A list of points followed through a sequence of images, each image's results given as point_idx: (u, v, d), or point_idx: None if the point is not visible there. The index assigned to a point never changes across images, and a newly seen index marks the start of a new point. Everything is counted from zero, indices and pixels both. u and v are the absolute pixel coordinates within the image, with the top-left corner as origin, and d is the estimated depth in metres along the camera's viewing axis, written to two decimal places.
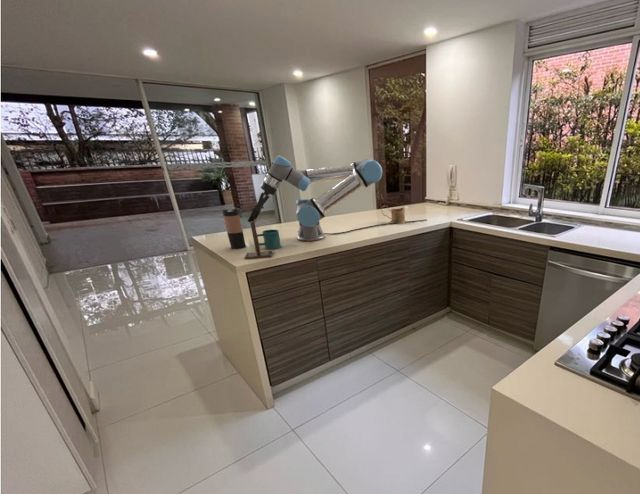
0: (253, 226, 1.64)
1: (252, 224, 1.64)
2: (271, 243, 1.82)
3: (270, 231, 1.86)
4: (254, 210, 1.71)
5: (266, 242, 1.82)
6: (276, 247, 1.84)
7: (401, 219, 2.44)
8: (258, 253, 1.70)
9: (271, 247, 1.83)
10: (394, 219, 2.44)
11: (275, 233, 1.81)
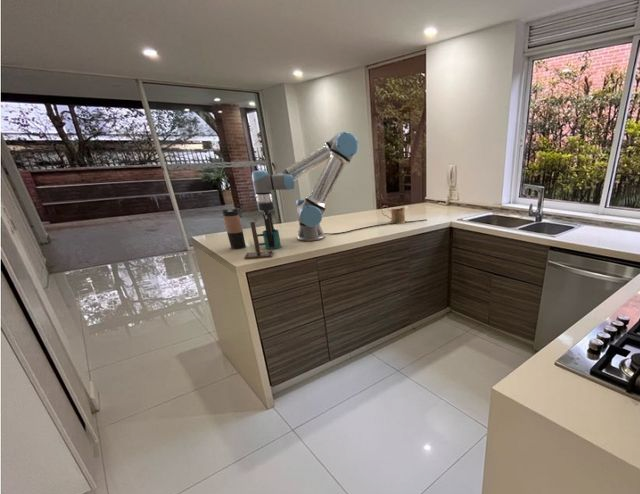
0: (253, 226, 1.64)
1: (252, 224, 1.64)
2: None
3: None
4: (268, 235, 1.78)
5: (266, 242, 1.82)
6: (276, 247, 1.84)
7: (401, 219, 2.44)
8: (258, 253, 1.70)
9: (271, 247, 1.83)
10: (394, 219, 2.44)
11: (275, 233, 1.81)
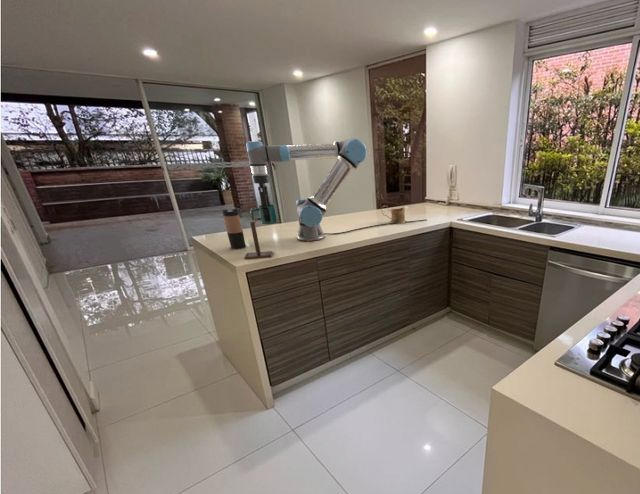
0: (253, 226, 1.64)
1: (252, 224, 1.64)
2: None
3: None
4: (263, 208, 1.72)
5: (262, 217, 1.76)
6: (272, 222, 1.78)
7: (401, 219, 2.44)
8: (258, 253, 1.70)
9: (267, 222, 1.77)
10: (394, 219, 2.44)
11: (271, 207, 1.76)
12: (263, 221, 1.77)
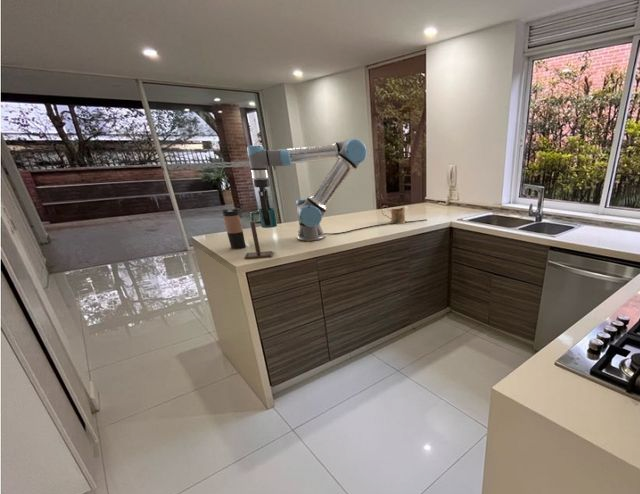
0: (253, 226, 1.64)
1: (252, 224, 1.64)
2: None
3: (265, 209, 1.81)
4: (263, 212, 1.73)
5: (261, 220, 1.77)
6: (272, 226, 1.79)
7: (401, 219, 2.44)
8: (258, 253, 1.70)
9: (267, 225, 1.78)
10: (394, 219, 2.44)
11: (271, 211, 1.77)
12: (263, 224, 1.78)
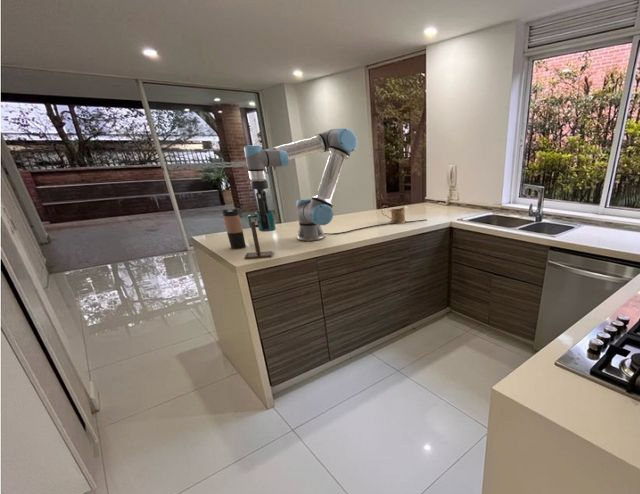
0: (253, 226, 1.64)
1: (252, 224, 1.64)
2: None
3: None
4: (261, 215, 1.65)
5: (259, 224, 1.69)
6: (270, 229, 1.71)
7: (401, 219, 2.44)
8: (258, 253, 1.70)
9: (265, 229, 1.70)
10: (394, 219, 2.44)
11: (269, 214, 1.69)
12: (261, 228, 1.70)
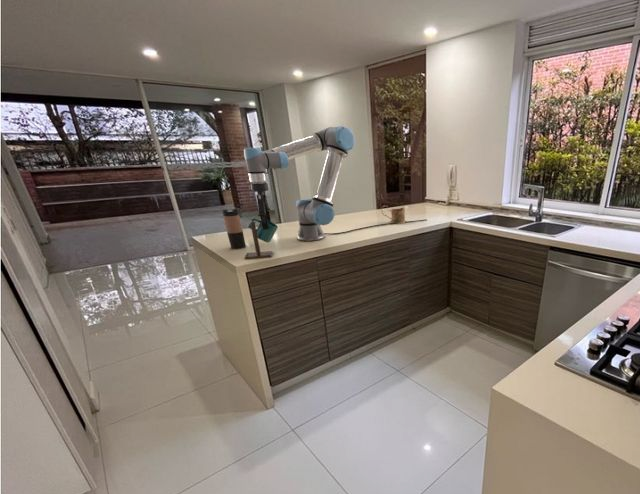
0: (253, 226, 1.64)
1: (252, 224, 1.64)
2: (263, 234, 1.69)
3: (268, 222, 1.75)
4: (261, 215, 1.62)
5: (259, 230, 1.69)
6: (265, 240, 1.71)
7: (401, 219, 2.44)
8: (258, 253, 1.70)
9: (261, 237, 1.69)
10: (394, 219, 2.44)
11: (274, 228, 1.70)
12: (258, 234, 1.69)
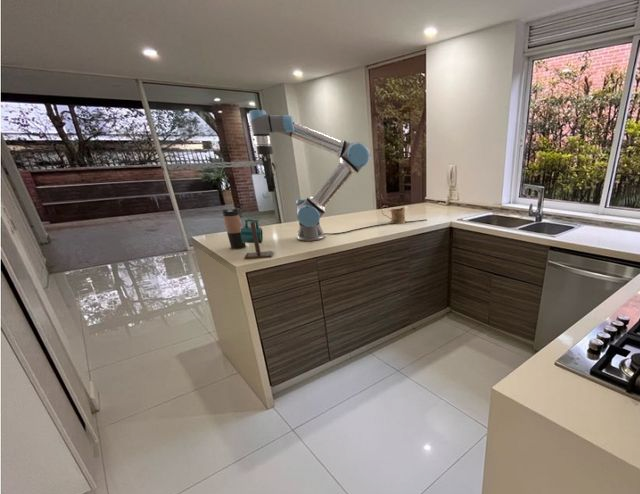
0: (253, 226, 1.64)
1: (252, 224, 1.64)
2: (248, 236, 1.67)
3: (260, 232, 1.75)
4: (266, 177, 1.66)
5: (249, 231, 1.67)
6: (242, 240, 1.68)
7: (401, 219, 2.44)
8: (258, 253, 1.70)
9: (243, 235, 1.67)
10: (394, 219, 2.44)
11: (259, 242, 1.71)
12: (244, 231, 1.67)
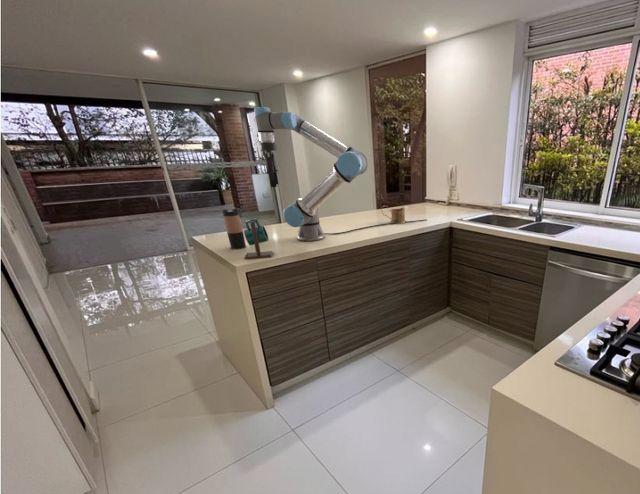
0: (253, 226, 1.64)
1: (252, 224, 1.64)
2: (252, 237, 1.68)
3: (264, 230, 1.76)
4: (269, 173, 1.71)
5: None
6: (249, 242, 1.69)
7: (401, 219, 2.44)
8: (258, 253, 1.70)
9: (248, 238, 1.68)
10: (394, 219, 2.44)
11: (265, 239, 1.71)
12: (247, 234, 1.68)
